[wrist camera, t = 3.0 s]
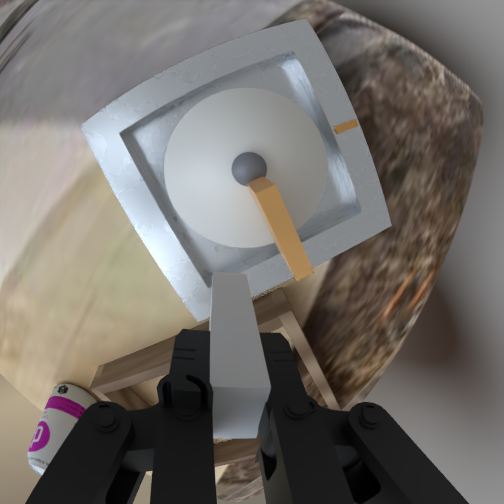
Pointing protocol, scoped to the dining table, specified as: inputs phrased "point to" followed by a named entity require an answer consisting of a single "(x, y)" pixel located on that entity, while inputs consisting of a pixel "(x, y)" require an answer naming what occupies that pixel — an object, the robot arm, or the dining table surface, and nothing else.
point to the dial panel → (199, 88)
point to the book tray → (159, 360)
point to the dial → (248, 171)
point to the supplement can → (57, 423)
